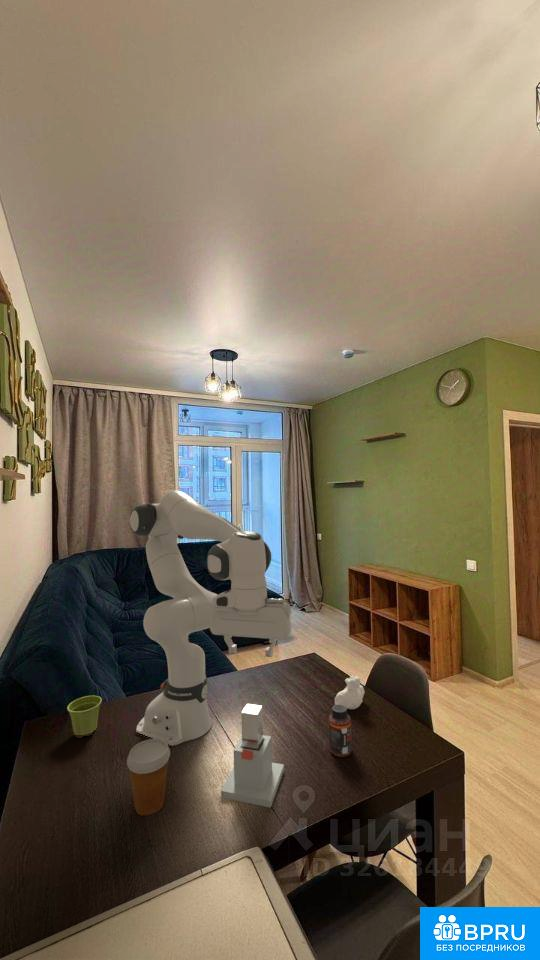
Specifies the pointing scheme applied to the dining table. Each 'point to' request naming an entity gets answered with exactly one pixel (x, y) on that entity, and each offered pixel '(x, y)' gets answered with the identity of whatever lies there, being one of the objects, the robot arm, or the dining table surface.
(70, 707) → the plant pot
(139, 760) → the disposable coffee cup
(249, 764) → the stand base
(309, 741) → the dining table surface
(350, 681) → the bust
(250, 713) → the column
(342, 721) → the supplement bottle
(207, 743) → the dining table surface
